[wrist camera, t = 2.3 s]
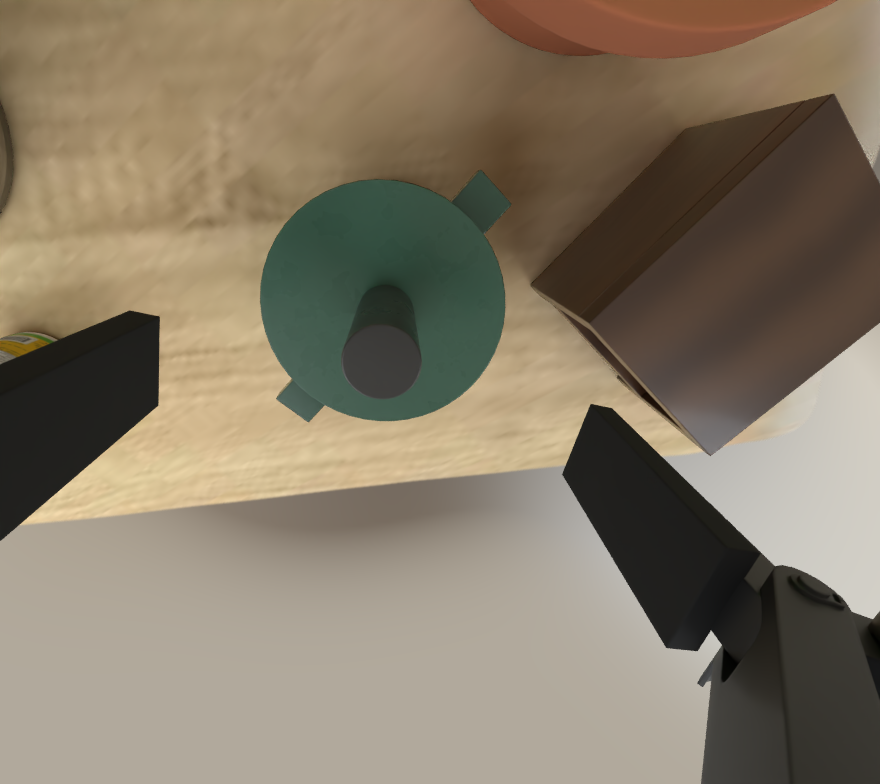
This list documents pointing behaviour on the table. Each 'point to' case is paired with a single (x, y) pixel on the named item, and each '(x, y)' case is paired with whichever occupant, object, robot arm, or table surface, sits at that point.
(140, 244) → the table surface
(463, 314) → the lid
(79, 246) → the table surface
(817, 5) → the potted cactus
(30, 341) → the supplement bottle
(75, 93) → the table surface
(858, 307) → the wooden side table
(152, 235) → the table surface
